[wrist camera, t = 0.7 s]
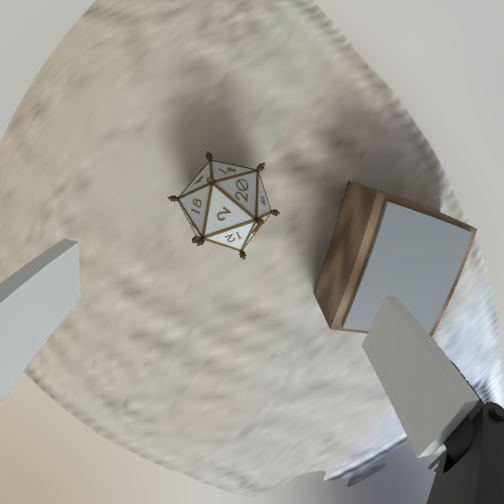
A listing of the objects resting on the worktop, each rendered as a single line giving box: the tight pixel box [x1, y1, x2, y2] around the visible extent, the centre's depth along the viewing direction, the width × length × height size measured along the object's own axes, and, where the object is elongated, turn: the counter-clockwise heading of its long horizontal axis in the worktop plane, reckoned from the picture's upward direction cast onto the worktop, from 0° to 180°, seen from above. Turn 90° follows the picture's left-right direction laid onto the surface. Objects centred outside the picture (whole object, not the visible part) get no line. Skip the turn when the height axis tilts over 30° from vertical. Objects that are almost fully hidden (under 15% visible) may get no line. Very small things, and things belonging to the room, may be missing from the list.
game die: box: [168, 151, 280, 260], centre depth 25 cm, size 9×8×10 cm
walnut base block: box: [314, 181, 477, 337], centre depth 28 cm, size 13×13×7 cm
